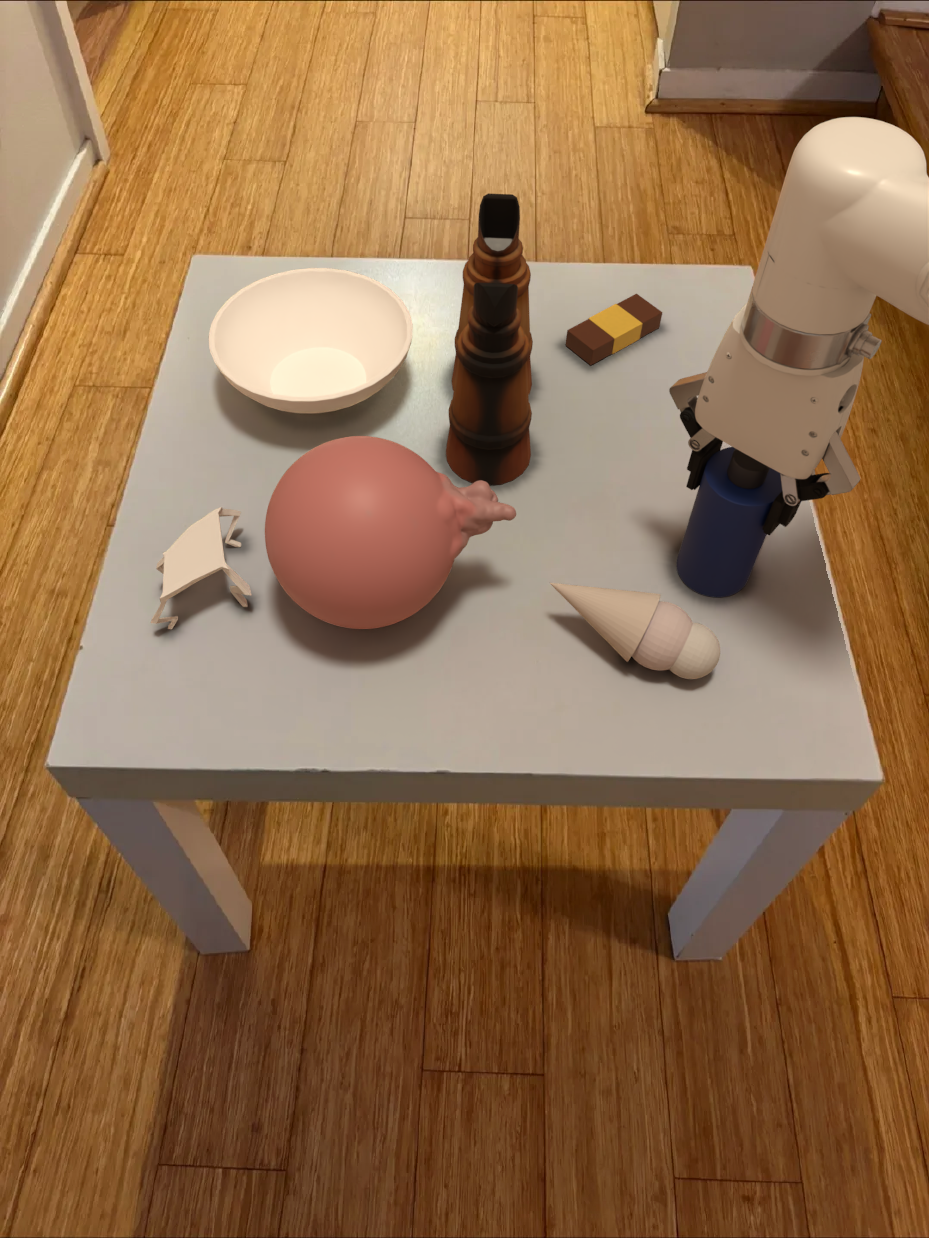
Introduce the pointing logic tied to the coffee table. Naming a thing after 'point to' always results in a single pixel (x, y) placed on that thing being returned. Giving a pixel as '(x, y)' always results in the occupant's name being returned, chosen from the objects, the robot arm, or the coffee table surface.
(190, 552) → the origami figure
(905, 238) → the robot arm
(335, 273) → the bowl
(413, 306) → the coffee table surface
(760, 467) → the water bottle
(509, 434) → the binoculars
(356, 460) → the balloon
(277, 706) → the coffee table surface
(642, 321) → the chocolate bar
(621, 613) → the ice cream cone
